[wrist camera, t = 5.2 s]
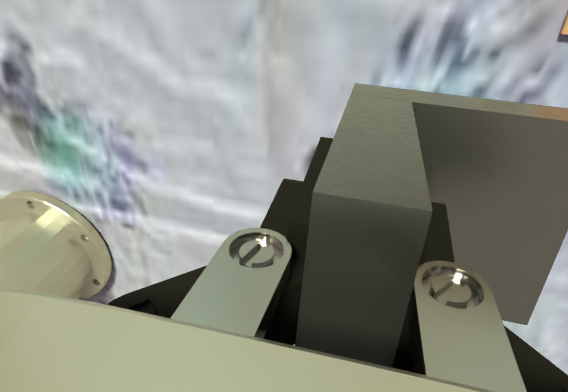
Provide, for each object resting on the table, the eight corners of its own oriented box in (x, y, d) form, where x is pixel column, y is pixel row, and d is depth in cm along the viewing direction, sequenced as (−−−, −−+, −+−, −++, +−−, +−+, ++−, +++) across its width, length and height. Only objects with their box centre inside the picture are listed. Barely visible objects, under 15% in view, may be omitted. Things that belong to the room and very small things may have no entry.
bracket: (355, 83, 12) (312, 191, 6) (585, 110, 11) (872, 283, 5) (329, 258, 15) (280, 473, 8) (513, 293, 14) (627, 570, 7)
